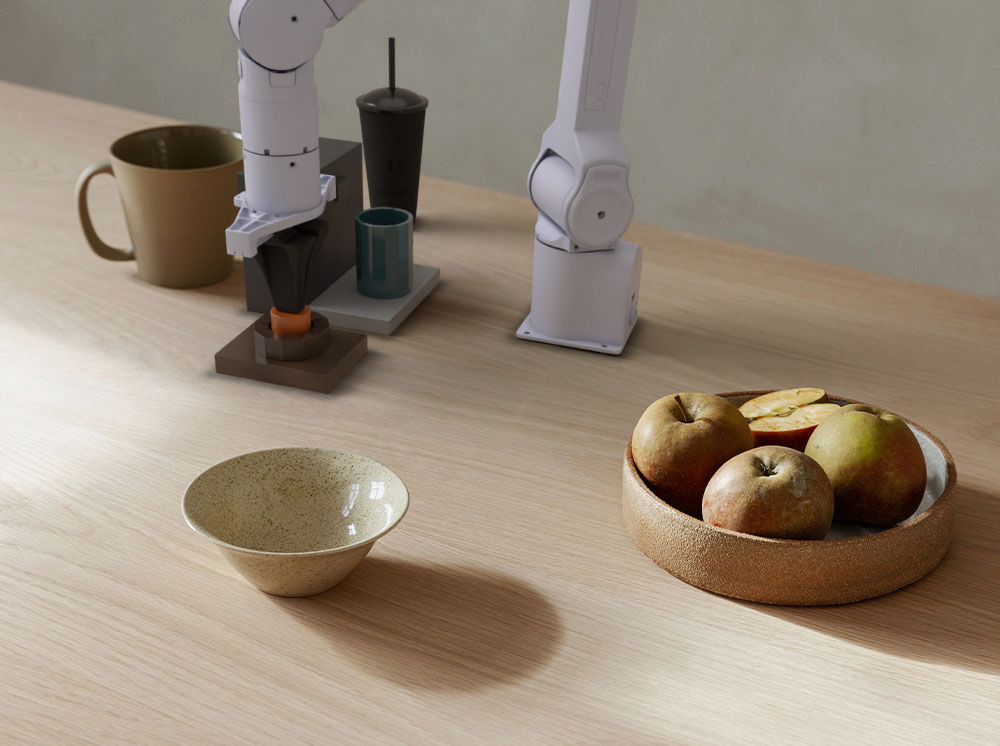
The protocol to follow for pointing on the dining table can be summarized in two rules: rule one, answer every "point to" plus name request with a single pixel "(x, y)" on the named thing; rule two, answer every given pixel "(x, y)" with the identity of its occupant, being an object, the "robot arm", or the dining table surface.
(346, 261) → the coffee maker
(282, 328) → the brew button
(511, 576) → the dining table surface
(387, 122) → the drinking cup
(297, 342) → the button block
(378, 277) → the creamer cup
